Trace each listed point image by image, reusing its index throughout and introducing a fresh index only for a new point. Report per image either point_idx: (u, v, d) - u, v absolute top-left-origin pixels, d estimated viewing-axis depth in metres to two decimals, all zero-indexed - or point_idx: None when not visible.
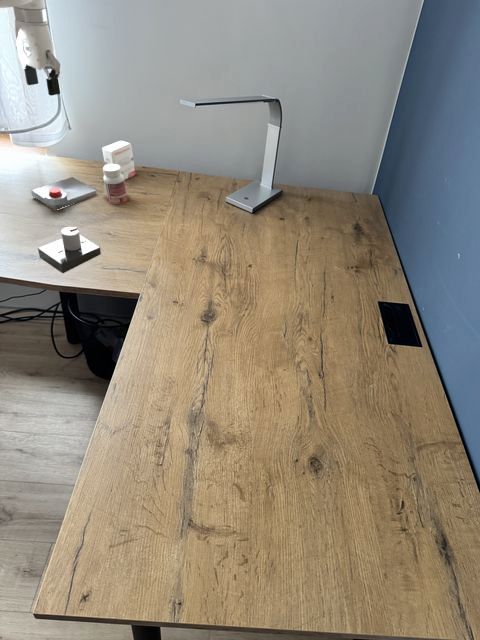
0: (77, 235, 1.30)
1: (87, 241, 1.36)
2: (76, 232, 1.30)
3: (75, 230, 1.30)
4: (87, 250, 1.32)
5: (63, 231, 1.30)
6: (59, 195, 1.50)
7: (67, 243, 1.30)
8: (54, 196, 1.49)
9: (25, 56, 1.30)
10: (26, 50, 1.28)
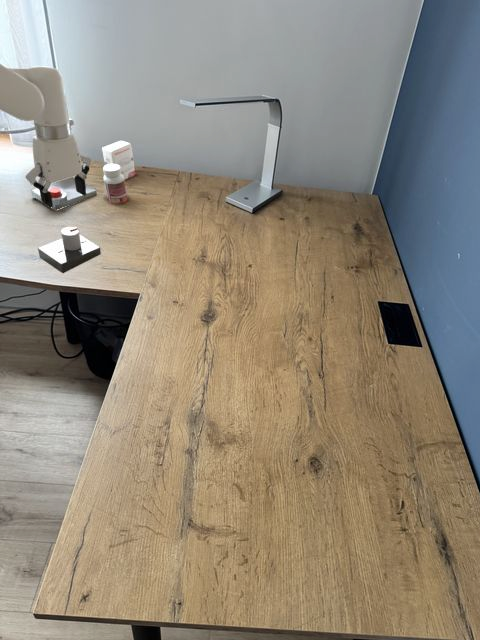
0: (77, 235, 1.30)
1: (87, 241, 1.36)
2: (76, 232, 1.30)
3: (75, 230, 1.30)
4: (87, 250, 1.32)
5: (63, 231, 1.30)
6: (59, 195, 1.50)
7: (67, 243, 1.30)
8: (54, 196, 1.49)
9: None
10: None
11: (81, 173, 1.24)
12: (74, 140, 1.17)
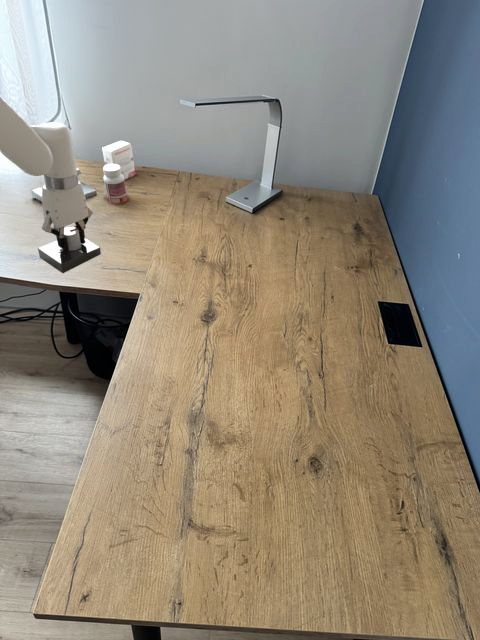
0: (77, 235, 1.30)
1: (87, 241, 1.36)
2: (76, 232, 1.30)
3: (75, 230, 1.30)
4: (87, 250, 1.32)
5: None
6: None
7: (67, 243, 1.30)
8: None
9: None
10: None
11: (80, 224, 1.30)
12: (81, 188, 1.24)
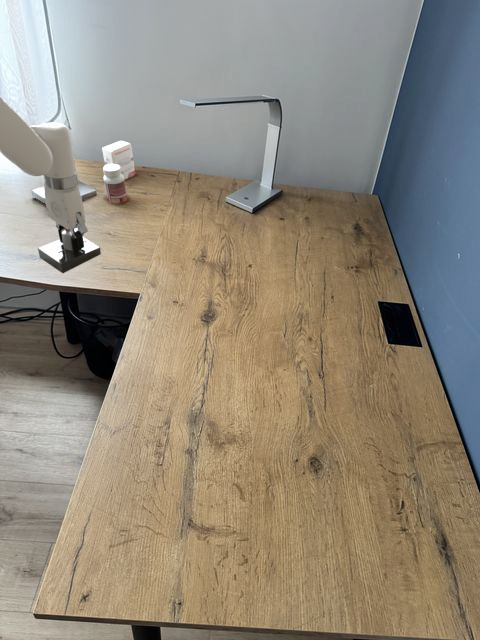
0: None
1: (87, 241, 1.36)
2: None
3: None
4: (87, 250, 1.32)
5: (70, 234, 1.29)
6: None
7: None
8: None
9: (54, 215, 1.25)
10: (55, 211, 1.24)
11: None
12: None
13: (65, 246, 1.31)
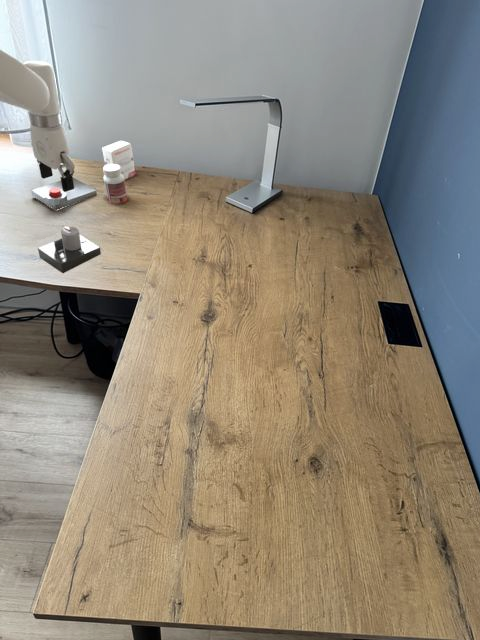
0: None
1: (87, 241, 1.36)
2: (73, 227, 1.31)
3: (69, 228, 1.31)
4: (87, 250, 1.32)
5: (70, 234, 1.29)
6: (59, 195, 1.50)
7: (79, 241, 1.31)
8: (54, 196, 1.49)
9: (40, 155, 1.30)
10: (41, 150, 1.29)
11: None
12: None
13: (65, 246, 1.31)
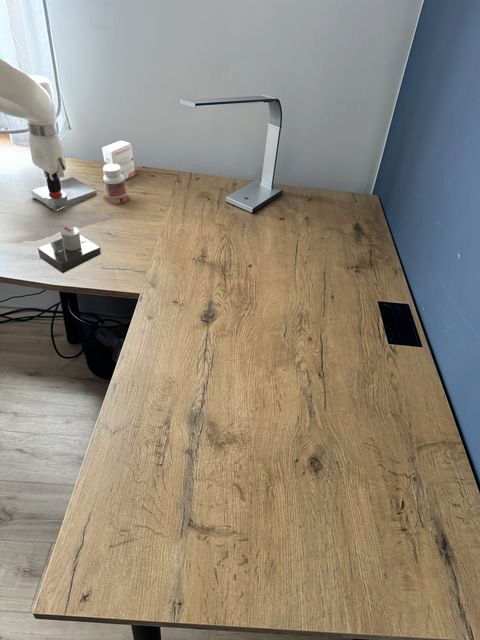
0: None
1: (87, 241, 1.36)
2: (73, 227, 1.31)
3: (69, 228, 1.31)
4: (87, 250, 1.32)
5: (70, 234, 1.29)
6: (59, 196, 1.50)
7: (79, 241, 1.31)
8: (54, 197, 1.49)
9: (38, 161, 1.42)
10: (39, 157, 1.41)
11: None
12: None
13: (65, 246, 1.31)
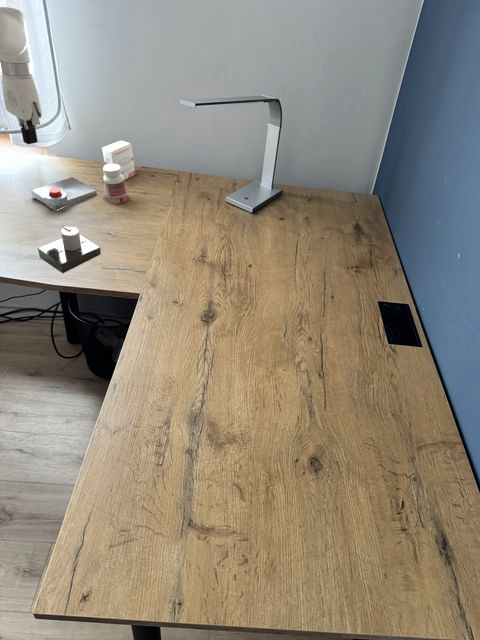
0: None
1: (87, 241, 1.36)
2: (73, 227, 1.31)
3: (69, 228, 1.31)
4: (87, 250, 1.32)
5: (70, 234, 1.29)
6: (59, 195, 1.50)
7: (79, 241, 1.31)
8: (54, 196, 1.49)
9: (11, 107, 1.30)
10: (12, 101, 1.28)
11: None
12: None
13: (65, 246, 1.31)
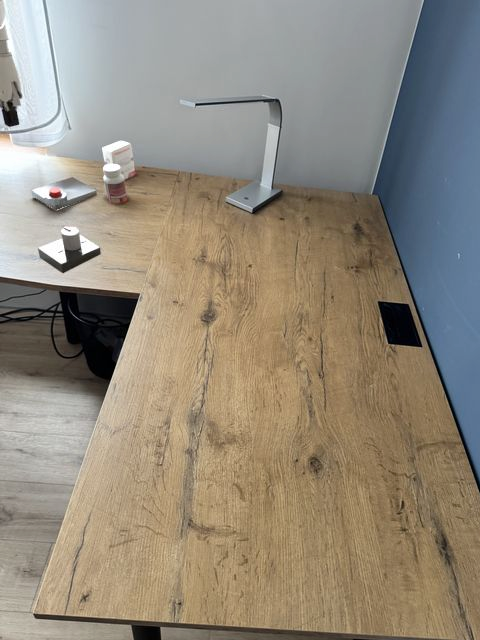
0: None
1: (87, 241, 1.36)
2: (73, 227, 1.31)
3: (69, 228, 1.31)
4: (87, 250, 1.32)
5: (70, 234, 1.29)
6: (59, 195, 1.50)
7: (79, 241, 1.31)
8: (54, 196, 1.49)
9: None
10: None
11: None
12: None
13: (65, 246, 1.31)
